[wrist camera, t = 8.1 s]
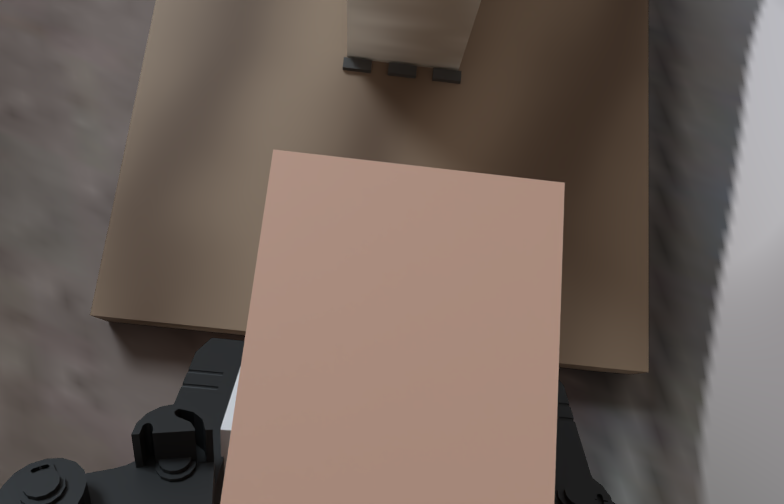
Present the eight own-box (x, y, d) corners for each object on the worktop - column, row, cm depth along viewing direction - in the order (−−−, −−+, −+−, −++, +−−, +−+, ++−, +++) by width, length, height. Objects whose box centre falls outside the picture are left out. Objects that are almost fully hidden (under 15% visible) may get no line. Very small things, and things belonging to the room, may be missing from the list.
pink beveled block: (282, 571, 18) (167, 856, 7) (316, 296, 20) (273, 149, 9) (420, 583, 19) (541, 882, 7) (441, 309, 20) (565, 182, 9)
